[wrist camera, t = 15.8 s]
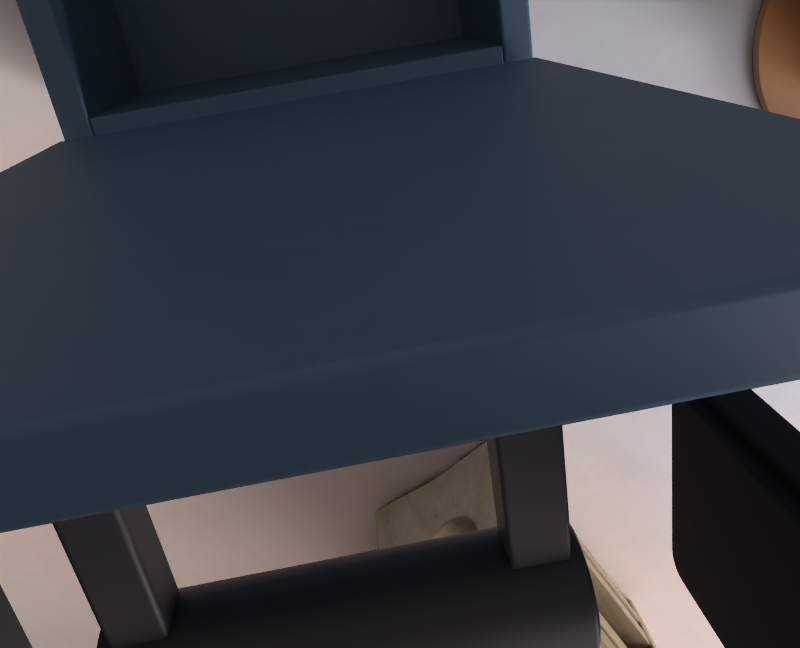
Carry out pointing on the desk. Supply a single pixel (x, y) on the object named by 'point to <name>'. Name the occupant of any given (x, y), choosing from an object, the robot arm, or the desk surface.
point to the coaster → (778, 57)
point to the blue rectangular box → (250, 52)
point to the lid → (379, 331)
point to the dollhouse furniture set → (475, 510)
